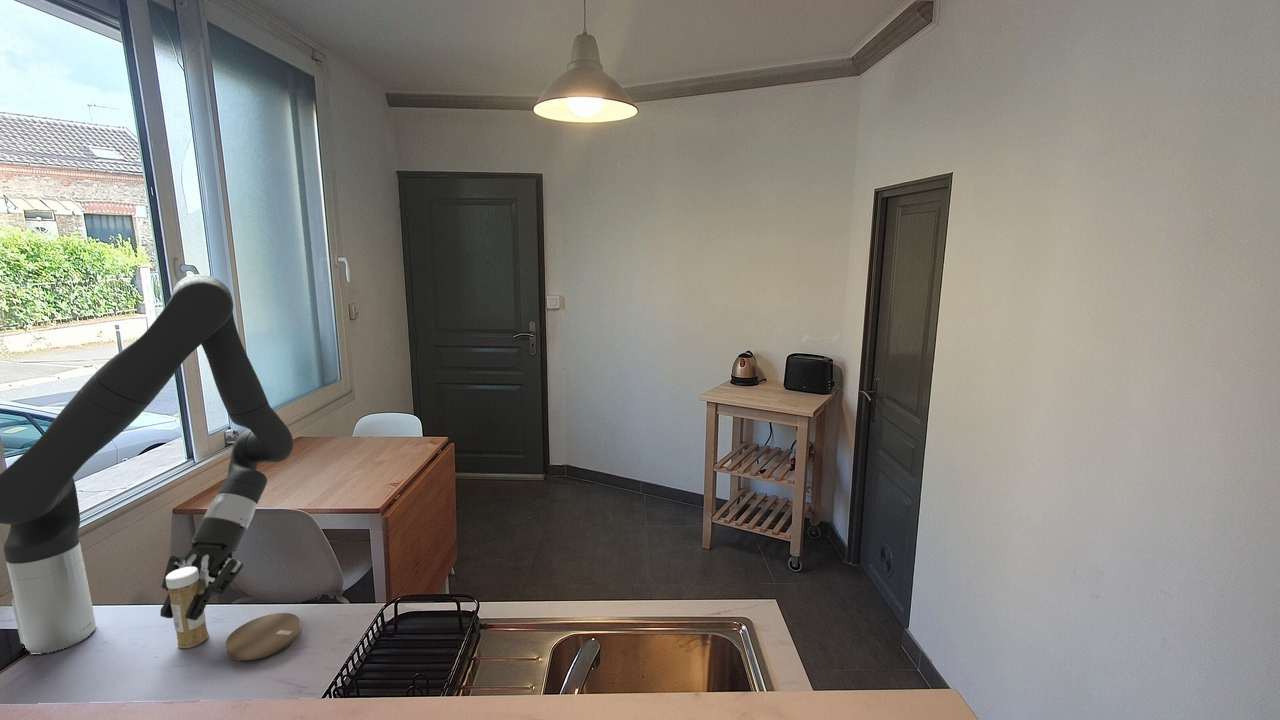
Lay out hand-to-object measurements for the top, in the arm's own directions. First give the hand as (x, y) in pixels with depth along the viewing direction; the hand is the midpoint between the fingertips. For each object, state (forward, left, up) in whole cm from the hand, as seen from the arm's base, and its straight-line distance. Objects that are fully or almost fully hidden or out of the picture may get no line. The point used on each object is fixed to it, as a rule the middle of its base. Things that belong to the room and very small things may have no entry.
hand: (178, 617), depth 102 cm
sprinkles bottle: (0, +2, -6) cm, 6 cm away
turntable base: (+14, +2, -6) cm, 15 cm away
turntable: (+14, +2, -5) cm, 15 cm away
